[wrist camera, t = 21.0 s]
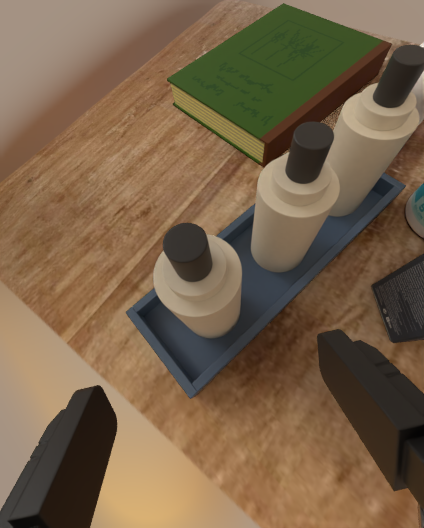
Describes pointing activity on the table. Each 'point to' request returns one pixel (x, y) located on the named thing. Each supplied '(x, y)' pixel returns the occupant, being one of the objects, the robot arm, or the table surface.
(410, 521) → the table surface
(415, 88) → the lightbulb
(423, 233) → the pill bottle
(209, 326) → the bottle
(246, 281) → the tray
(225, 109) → the hardcover book
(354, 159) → the row bottle
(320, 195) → the row bottle
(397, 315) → the box
